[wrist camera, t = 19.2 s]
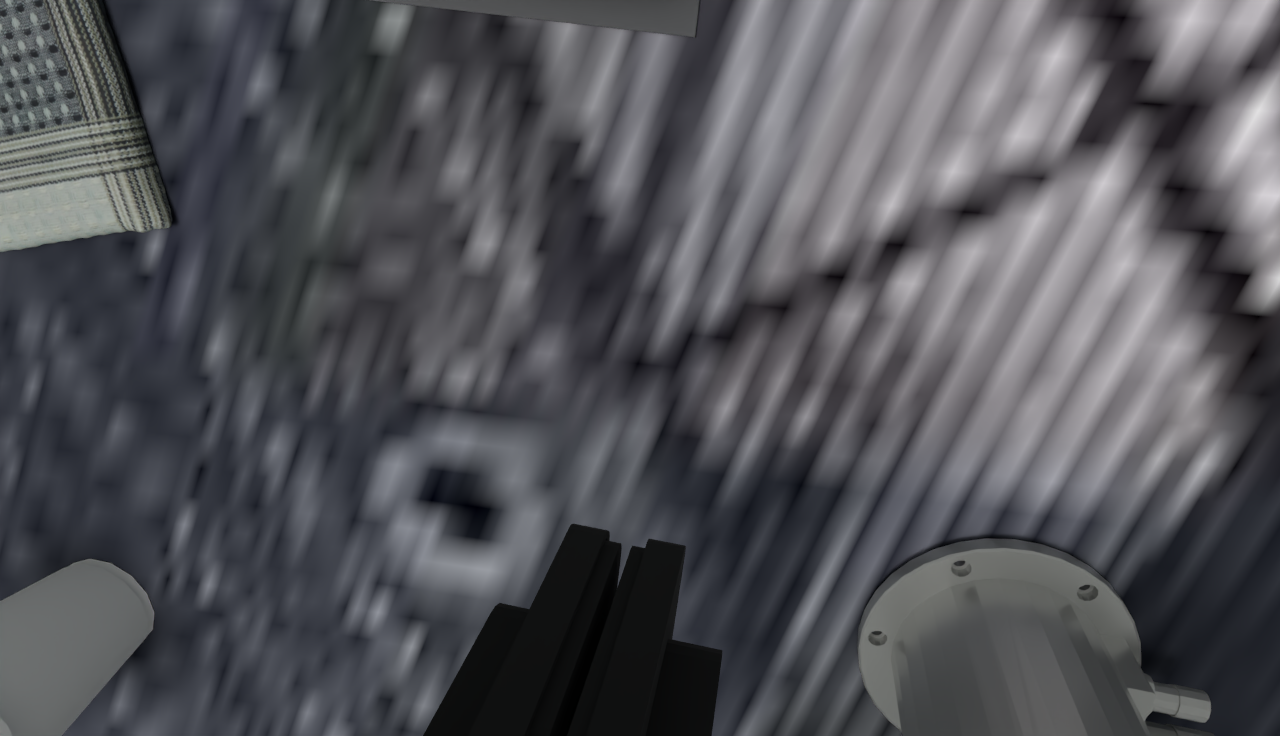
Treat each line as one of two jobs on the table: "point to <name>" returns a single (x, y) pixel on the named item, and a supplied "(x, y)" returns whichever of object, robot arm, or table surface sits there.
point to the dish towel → (70, 130)
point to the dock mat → (587, 12)
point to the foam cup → (66, 644)
